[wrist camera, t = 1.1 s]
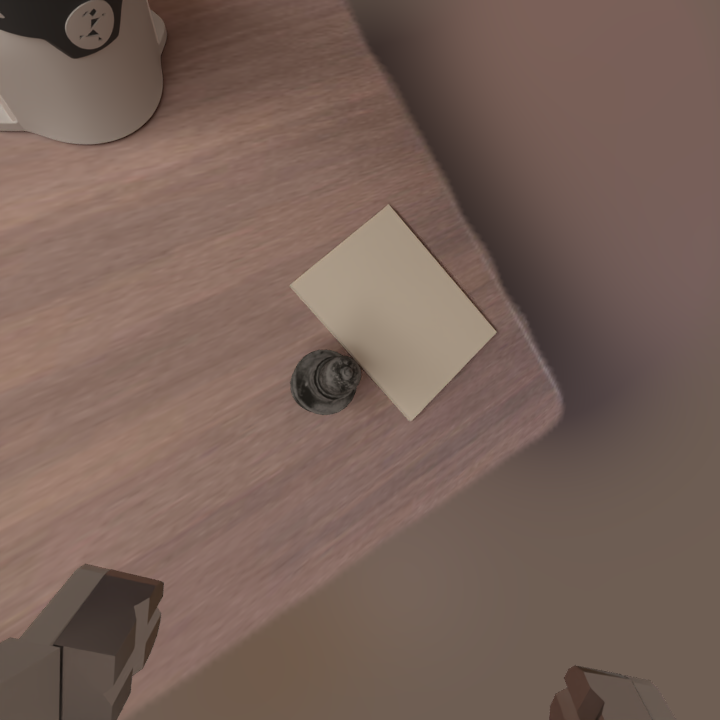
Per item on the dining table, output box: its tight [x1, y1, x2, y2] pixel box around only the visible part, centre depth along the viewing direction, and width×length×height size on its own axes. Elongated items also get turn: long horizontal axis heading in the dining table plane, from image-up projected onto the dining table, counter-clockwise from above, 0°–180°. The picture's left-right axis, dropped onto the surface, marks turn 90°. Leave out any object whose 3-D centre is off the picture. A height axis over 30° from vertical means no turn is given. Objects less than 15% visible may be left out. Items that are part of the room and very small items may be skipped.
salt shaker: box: [290, 350, 361, 415], centre depth 39 cm, size 6×6×12 cm
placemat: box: [290, 204, 497, 421], centre depth 48 cm, size 18×14×1 cm
